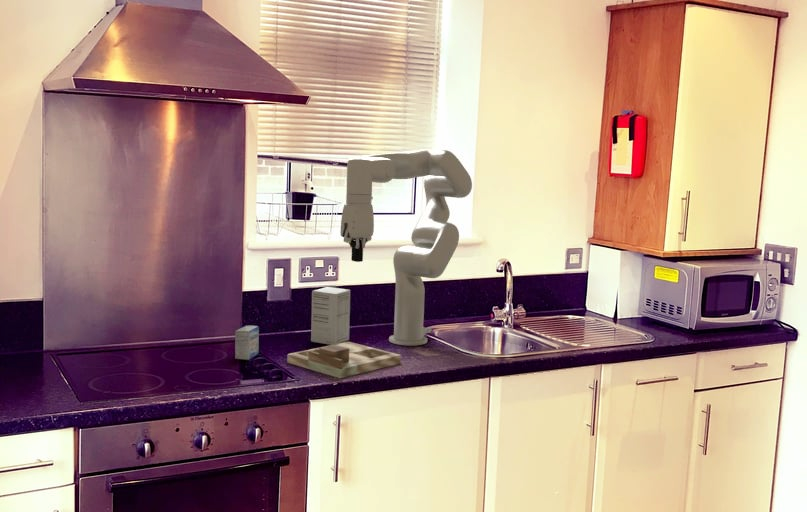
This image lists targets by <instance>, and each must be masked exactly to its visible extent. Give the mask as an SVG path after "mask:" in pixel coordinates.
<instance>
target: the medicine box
mask: <svg viewBox="0 0 807 512" xmlns="http://www.w3.org/2000/svg"><path fill="white" fill-rule="evenodd" d="M259 332H260V327H259V326H258V325H244V326H242V327H240V328H239V329H236V330H235V333H234V335H235V336H234V337H235V341H234V342H235V343H234V344H235V345H234V352H235V353H234V354H235V356H234V357H235V359H236V360H245V361H250V360H251V359H253V358H254V357H256V356H257V355H259V342H260V341H259V340H260V339H259V335H260V333H259Z"/></svg>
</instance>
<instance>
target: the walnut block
mask: <svg viewBox="0 0 807 512" xmlns="http://www.w3.org/2000/svg"><path fill="white" fill-rule="evenodd" d="M321 347H322V348H320V347H318V348H319V353H320V354H324V355H327V356H331V357H334V358H338V359H342V360H343V364H344V363H348V362H349V348H345V347H341V346H337V345H331V346H330V345H326V347H325V346H321Z"/></svg>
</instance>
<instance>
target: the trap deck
mask: <svg viewBox="0 0 807 512" xmlns="http://www.w3.org/2000/svg"><path fill="white" fill-rule="evenodd" d="M334 345H337V346H341V347H345V348H349V362H348V363H344V364H343V360H342V359H338V358H334V357H331V356H327V355H324V354H320V353H319V348H322V347H323V346H321V347H316V348H311V349H308V350H307V349H306V350H301V351H296V352H291V353H288V354H287V358H286V359H287V360H286V361H287V363H288V364H290V365H294V366H298V367H301V368H304V369H308V370H310V371H311V370H312V371H314V372H318V373H322V374H324V375H328V376H332V377H335V378H338V379H342V378H346V377H351V376H355V375H358V374H364V373H366V372H367V373H368V372H371V371H375V370H378V369H379V370H380V369H382V368H387V367H391V366H395V365H399V364H401V362H402V361H401V360H402V354H399V353H395V352H390V351H387V350H383V349H379V348H375V347H373V346H372V347H370V346H367V345H364V344H359V343H355V342H352V341H345V342H342V343H339V344H334ZM326 346H327V345H326ZM326 346H324V347H326ZM329 346H331V345H329Z"/></svg>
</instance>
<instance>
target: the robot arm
mask: <svg viewBox="0 0 807 512" xmlns="http://www.w3.org/2000/svg"><path fill="white" fill-rule="evenodd" d="M421 177H425V178H424V181H423V187H424V192H425V198H426V199H425V201H426V204H425V205H426V206H425V208H424V210H423V213H422V214H421V216H420V218H419V219H418V221H417V223H416V225H415V227H414V228H413V230H412V233H411V239H410V240H411V242H412V244H413V245H411V244H410V245H403V246H400V247H398V248H397V249H396V250H395V252H394V253H393V254H394V255H393V259H392V260H393V261H392V263H393V269H394V274H395V275H394V276H395V294H394V296H395V297H394V317H393V318H394V319H393V320H394V322H393V328H394V329H393V335H390V336H389V338H388V341H389V342H390V343H392V344H394V345H398V346H423V345H425V344H427V343H428V338H427V337H426V336H425V335H426V334H429V333H432V327H431V326H428V327H424V315H425V293H426V291H425V285H424V281H423V279H422V278H426V279H437V278H439V277H440V276H442V275H443V273H444V272H445V270H446V268H447V266H448V265H449V263H450V261H451V259H452V258H453V255H454V253H455V251H456V249H457V247H458V245H459V241H460V232H459V228H457V226H456V225H455V224H453V223H452V222H448V221H449V218H450V208H449V205H448V203H447V200H446V198H457V199H461V198H465V197H467V196H469V195H470V194H471V192H472V190H473V189H472V188H473V182H472V178H471V176H470V174H469V172H468V171H467V169H466V168H465V167H464V165H463V164H462V162H461V161H460V159H459V158H458V157H457V156H456V155H455V153H453V152H452V151H450V150H448V149H430V148H429V149H420V150H419V149H418V150H412V151H411V150H410V151H402V152H399V151H398V152H391V153H382V154H380V153H379V154H370V155H369V154H368V155H361V156H358V157H350V158H349V159H348V160H347V165H346V196H345V200H346V201H345V202H346V203H345V204H344V205H343V208H342V212H341V213H342V214H341V222H340V231H339V232H340V236H341V237H342V238H343V242H344V243H347V244H348V245H349V247H350V248H351V261H352V262H357V263H361V262H364V261H363V260H364V249H365V248H366V244H367V243H368V242H370V241H372V236H373V235H374V228H375V221H374V219H375V218H374V217H375V216H374V208H373V204H372V200H373V199H374V198H373V183H380V184H386V183H389V182H390V181H392V180H410V179H415V178H421Z"/></svg>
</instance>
